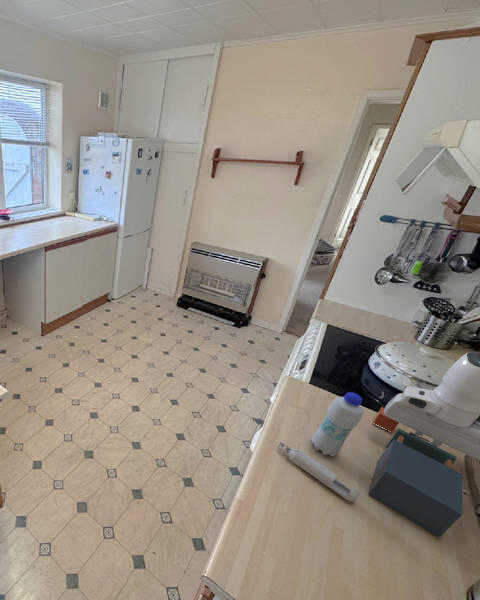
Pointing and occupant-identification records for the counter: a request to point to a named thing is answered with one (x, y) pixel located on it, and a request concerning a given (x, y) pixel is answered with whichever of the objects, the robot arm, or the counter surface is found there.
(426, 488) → the cabinet
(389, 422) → the block
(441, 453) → the drawer
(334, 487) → the white cylindrical device
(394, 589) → the counter surface
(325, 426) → the bottle
